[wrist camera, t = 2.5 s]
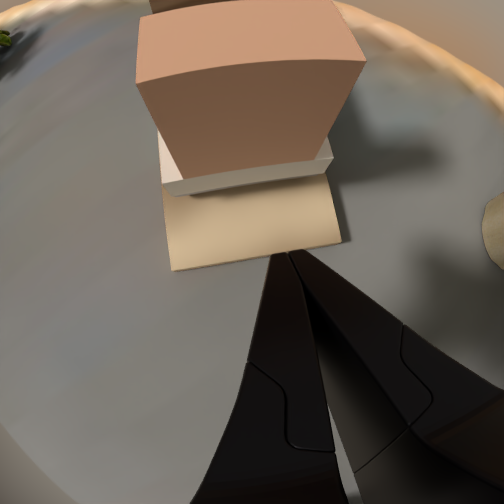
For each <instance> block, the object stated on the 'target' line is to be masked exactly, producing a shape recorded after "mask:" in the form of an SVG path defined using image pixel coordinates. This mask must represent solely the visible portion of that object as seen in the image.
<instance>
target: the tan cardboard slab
mask: <svg viewBox="0 0 504 504" xmlns="http://www.w3.org/2000/svg"><path fill="white" fill-rule="evenodd" d="M227 1H238V0H149V2H150V5H151V9H152V12H153V14H157V13H161V12H165V11H170V10H175V9H180V8H185V7H191V6H197V5H203V4H210V3H218V2H227ZM158 144H159V136H158ZM159 159H160V152H159ZM160 172H161V166H160ZM161 184H162V178H161ZM162 195H163V205H164V214H165V223H166V231H167V240H168V247H169V255H170V262H171V269H172V271H174V272H178V271H184V270H190V269H196V268H202V267H208V266H214V265H220V264H226V263H232V262H238V261H243V260H249V259H255V258H261V257H267V256H270V255H271V254H274V253H279V252H287V253H288V252H289V251H291V250H297V249H305V250H307V249H313V248H319V247H325V246H330V245H336V244H338V243H340V242H342V241H341V236H340V231H339V227H338V222H337V218H336V213H335V209H334V205H333V200H332V196H331V192H330V188H329V184H328V180H327V176H326V172H324V173H322V174H318V175H317V176H310V177H301V178H293V179H286V180H278V181H271V182H264V183H258V184H251V185H244V186H238V187H232V188H226V189H220V190H214V191H208V192H203V193H197V194H192V195H186V196H181V197H175V196H173V197H171V195H170V194H169V193H168V191H167V190H166V188H165V187H164V186H163V184H162Z"/></svg>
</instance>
